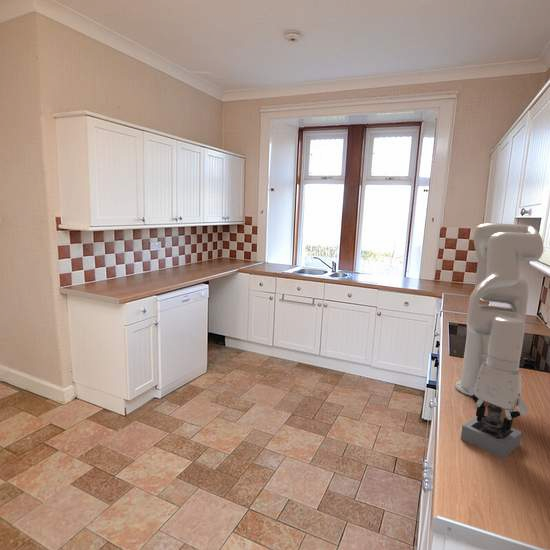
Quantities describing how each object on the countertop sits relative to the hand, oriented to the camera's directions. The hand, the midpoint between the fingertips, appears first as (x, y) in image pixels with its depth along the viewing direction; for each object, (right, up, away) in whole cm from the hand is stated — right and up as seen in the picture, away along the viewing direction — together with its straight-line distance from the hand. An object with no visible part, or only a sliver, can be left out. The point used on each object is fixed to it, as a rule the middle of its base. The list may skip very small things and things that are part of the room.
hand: (492, 424), depth 105 cm
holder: (0, -5, +1) cm, 5 cm away
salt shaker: (0, -3, 0) cm, 3 cm away
